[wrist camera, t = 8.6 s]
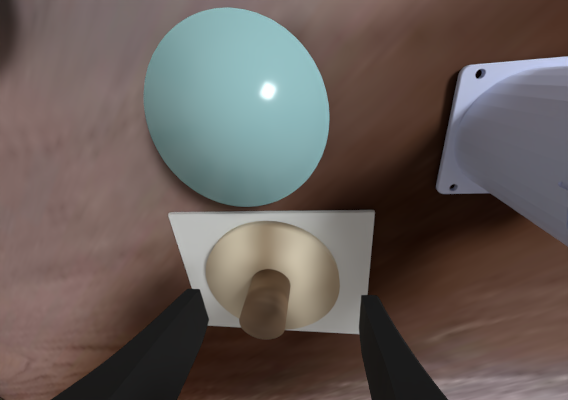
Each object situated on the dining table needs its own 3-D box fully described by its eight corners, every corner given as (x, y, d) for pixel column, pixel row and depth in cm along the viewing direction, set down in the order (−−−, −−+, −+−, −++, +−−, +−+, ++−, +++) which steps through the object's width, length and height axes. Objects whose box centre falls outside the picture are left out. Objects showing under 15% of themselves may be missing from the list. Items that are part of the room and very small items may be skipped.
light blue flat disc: (327, 8, 14) (329, -7, 11) (327, 187, 19) (329, 205, 16) (149, 30, 16) (115, 21, 13) (191, 190, 21) (172, 207, 18)
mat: (373, 209, 19) (374, 212, 19) (363, 330, 25) (363, 334, 25) (170, 212, 22) (167, 214, 21) (205, 322, 28) (203, 325, 28)
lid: (329, 212, 19) (333, 252, 15) (345, 318, 24) (351, 372, 20) (191, 229, 22) (158, 268, 17) (231, 322, 27) (214, 372, 22)
